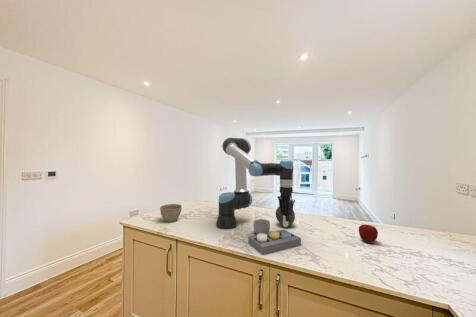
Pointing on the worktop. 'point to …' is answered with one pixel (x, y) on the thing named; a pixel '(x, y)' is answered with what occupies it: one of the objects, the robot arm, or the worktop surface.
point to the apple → (368, 233)
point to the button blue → (286, 234)
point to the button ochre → (274, 235)
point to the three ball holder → (274, 243)
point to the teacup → (261, 226)
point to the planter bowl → (170, 212)
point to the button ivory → (261, 238)
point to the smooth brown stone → (280, 217)
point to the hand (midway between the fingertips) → (285, 226)
